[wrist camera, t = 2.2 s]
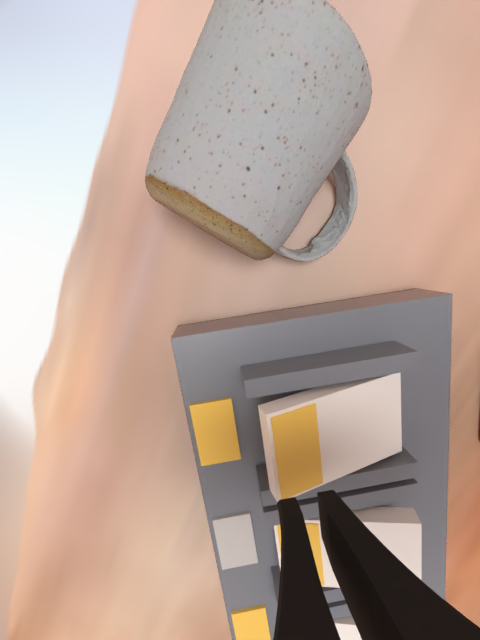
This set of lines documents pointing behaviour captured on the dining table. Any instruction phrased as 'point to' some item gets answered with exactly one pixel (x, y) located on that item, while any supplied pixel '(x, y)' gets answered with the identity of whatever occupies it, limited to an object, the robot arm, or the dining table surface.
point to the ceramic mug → (264, 125)
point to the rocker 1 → (330, 432)
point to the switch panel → (297, 376)
